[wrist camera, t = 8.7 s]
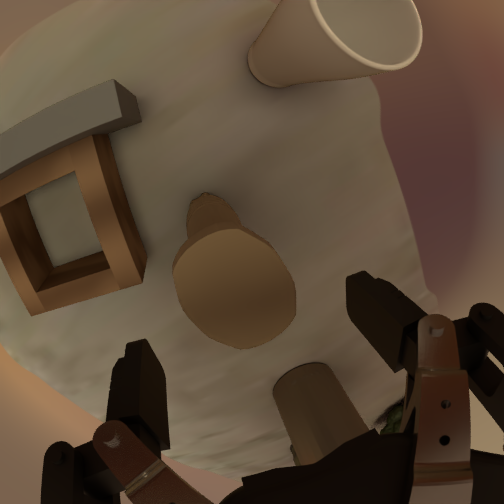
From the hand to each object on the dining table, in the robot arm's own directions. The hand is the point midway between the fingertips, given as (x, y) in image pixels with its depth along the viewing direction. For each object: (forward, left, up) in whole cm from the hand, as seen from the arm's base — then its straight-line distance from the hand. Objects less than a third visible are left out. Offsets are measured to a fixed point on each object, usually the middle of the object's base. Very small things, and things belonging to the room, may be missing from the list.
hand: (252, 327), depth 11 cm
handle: (0, 0, -18) cm, 18 cm away
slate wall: (+10, +12, -17) cm, 23 cm away
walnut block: (+3, +13, -17) cm, 22 cm away
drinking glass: (+12, -9, -18) cm, 23 cm away
